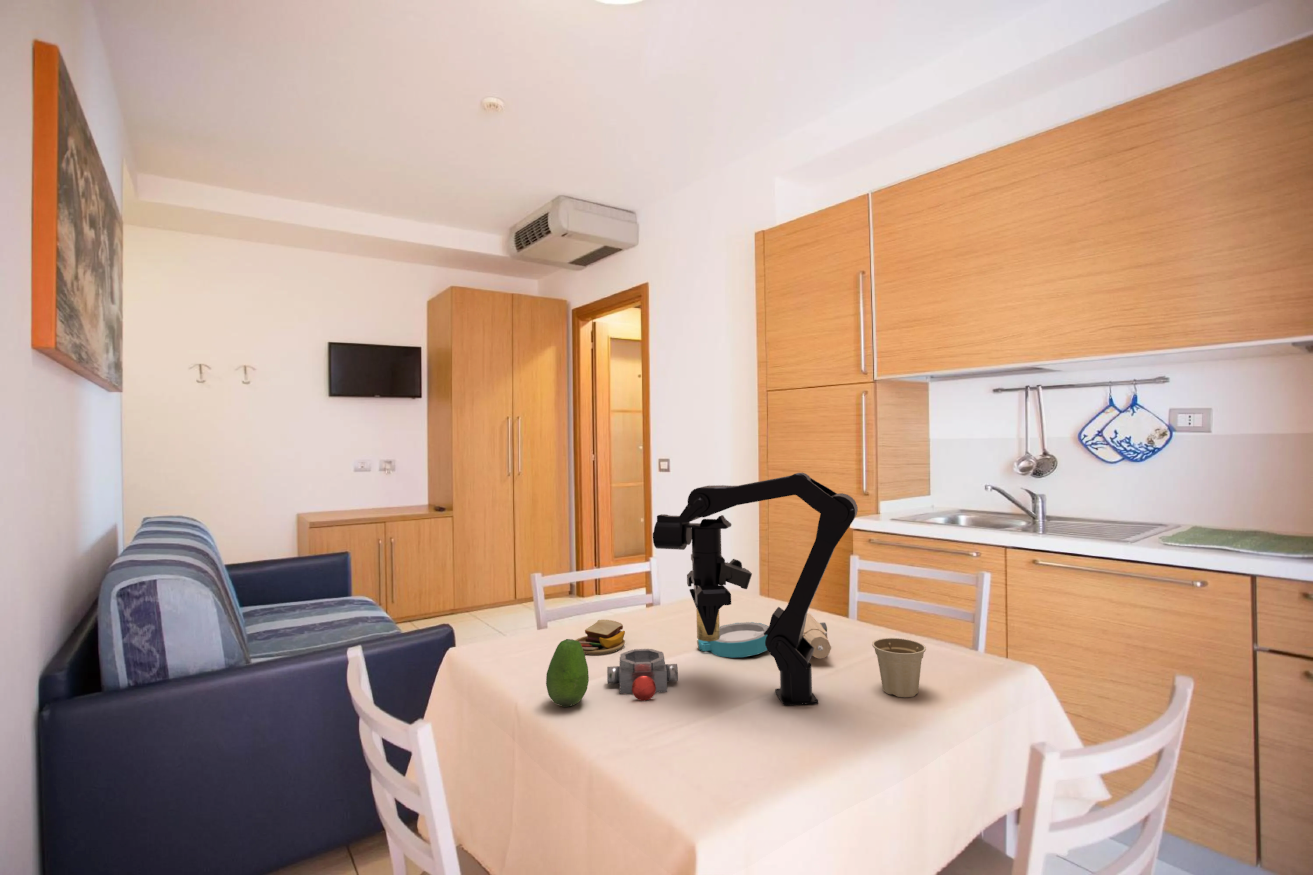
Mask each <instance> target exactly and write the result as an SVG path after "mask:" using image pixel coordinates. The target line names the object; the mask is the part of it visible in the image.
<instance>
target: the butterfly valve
mask: <svg viewBox="0 0 1313 875" xmlns="http://www.w3.org/2000/svg"><path fill="white" fill-rule="evenodd" d="M719 627H720V638H719V639H718V640H716V641H702V640H699V639H697V640H696V644H697V649H698V650H699V651H701V652H707V651H708V652H711V654H713V655H715V656H717V657H720V658H721V657H722V658H747V657H750V656H755V655H759V654H762V653H764V652H766V651H768V650H767V648H766V646H765V640H766V637H767V635H764V632H765V631H766V630H767V628H768V627H769V625H767V624H764V623H761V622H753V621H751V622H749V621H748V622H747V621H746V622H734V623H729V624H724V625H721V626H719ZM803 637H804V638H805V639H806V640H807V641H808V642H809V643H810V644H811V645H812V646H813V647H814V652H813V655H812V657H814V658H816V659H819V660H820V659H825V658H826V657H828V656H829V655H830V652H831V650H832V646H831V644H830V642H829V639H828V627H827V624H826V622H818V620H817V619H816V618H815V617H814V616H813V615H812V613H810V612H807V617H806V623H805V628H804V633H803Z"/></svg>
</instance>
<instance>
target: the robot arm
mask: <svg viewBox="0 0 1313 875" xmlns="http://www.w3.org/2000/svg"><path fill="white" fill-rule="evenodd" d="M791 496H796V497H798V498H799V499H801V500H802V501H803V502H804V503H806V504H807V505H809V507H811V508H812V509H813V510H814V511H816V512H817V513H819V518H818V521H817V522H818V524H817V529H816V535H815V539H814V543H813V545H812V547H811V549H810V552H809V554H808V557H807V559H806V562H805V564H804V565H803V568H802V570H801V572H800V575H799V578H798V580H797V582H796V584H795V587H794V589H793V592H792V594H791V596H790V599H789V600H788V602H787V606H786V607H785V609H783V608H781V607H780V606H778V607H777V608H776V609H775V611H774V612H773V613H772V615H771V618H770V622H769V625H768V626H769V627H768V628H767V630H766V631H765V632H764V635H767V637H766V640H765V646H766V648H767V650H766V651H767V652H768V654H769V655H770V656H771V657H773V658H774V661H775V663H776V666H777V669H778V672H779V681H780V682H779V683H780V686H779V688H775V689H774V692H775V694H776V695H777V697H778V699H779V701H780V702H781V703H782V705H783V706H794V705H797V706H798V705H816V704H819V699H818V698H817V697H816V695H815V694H814V692H813V679H812V678H813V676H812V674H813V673H812V672H813V671H812V663H811V659H812V657H813V652H814V647H813V646H812V645H811V644H810V643H809V642H808V641H807V640H806V639H805V638H804V637H803V633H804V628H805V623H806V617H807V613H809V609H810V607H811V605H812V602H813V599H814V598H815V595H816V592H817V591H818V588H819V586H820V583H821V581H822V578H824V577H823V576H824V574H825V572H826V569H827V567H828V565H829V563H830V560H831V558H832V555H833V553H834V552H835V549H836V547H837V545H838V543H839V542H840V541H841V540H842V538H843V537H844V535H845V534H846V532H847V531H848V529H849V528H850V526H851V525H852V523H853V522H854V520H855V518H856V517H857V515H858V505H857V502H856V500H855V499H854V498H853V497H852V496H851V495H849V494H846V493H843V492H842V493H837V492H835V491H834V490H832V489H830V488H829V487H827V486H825V485H824V484H821V483H820V482H818V481H817V480H815V479H814V478H812V477H810V475H808V474H807V473H805V472H797V473H793V474H791V475H786V476H781V477H776V478H771V479H766V480H761V481H756V482H749V483H746V484H740V485H724V484H722V485H721V484H720V485H719V484H718V485H705V486H701V487H696V488H694V489H692V490H691V492H690V493H689V495H688V497H687V505H686V506H685V507H684V509H683V510H682V512H681V513H680V514H679V515H671V514H669V515H668V514H657V516H656V522H655V525H654V528H653V532H652V544H653V546H654V547H655V548H656V549H660V550H678V551H679V550H682V551H683V550H686V548H687V546H689V545H691V554H690V560H691V563H692V564H691V565H692V568H691V569H692V570H690V571H688V572H689V573H687V574H686V583H687V586H688V587H689V588H690V589H689V593H690V596H691V598H692V601H693V603H694V605H695V609H698V612H699V614H700V617H701V620H702V622H703V625H704V627H705V630H706V633H707V635H713V633H714V628H715V624H716V620H717V615H718V611H719V612H720V610H721V608H722V607H724V606H730V605H732V594H731V592H730V591H729V589H728V588H727V587H726V585H727V583H729V584H732V585H735V586H738V587H740V588H741V589H743V590H747V589H748V588H749V585H750V582H751V578H752V575H753V573H752V572H751V571H750V570H749V569H746V568H745V567H743V564H742V562H741V561H740V560H738V559H735V558H732V559H731V560H730V562H728V561H727V562H726V559H725V558H724V556H723V555H722V530H726V529H729V528H731V527H732V523H731V522H730V521H729V520H727V519H726V517H725V515H722V514H720V515H719V516H718V517H717V518H706V517H710V516H713V515H715V514H717V513H721V512H722V511H725V510H728V509H730V508H733V507H736V506H740V505H744V504H750V503H757V502H762V501H769V500H773V499H779V498H784V497H791ZM701 518H703V519H701ZM698 519H701V521H700V522H698V523H696V522H694V523H693V521H695V520H698ZM692 585H693V588H691V587H692Z"/></svg>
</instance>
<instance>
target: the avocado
mask: <svg viewBox="0 0 1313 875" xmlns="http://www.w3.org/2000/svg"><path fill="white" fill-rule="evenodd" d="M547 668H548V669H547V671H546V676H545V677H546V678H545V679H546V680H545V684H546V690H547V695H548V697H549V698H550V700H551V701H552V702H553V703H554V704H556V705H557V706H559V707H572V706H575V705H577V704H578V703H579V702H580V701H582V700H583V697H584V696H585V695H586V692H587V690H588V686H589V678H590V677H589V666H588V662H587V659H586V654H584V651H583V648H582V646H581V643H580V642H579V641H576V639H572V638H566V639H564V640H562V641H560V642H559V643H558V644H557V646H556V648H555V651H554V653H553V655H552V657H551V659H550V662H549V665H548V667H547Z"/></svg>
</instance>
